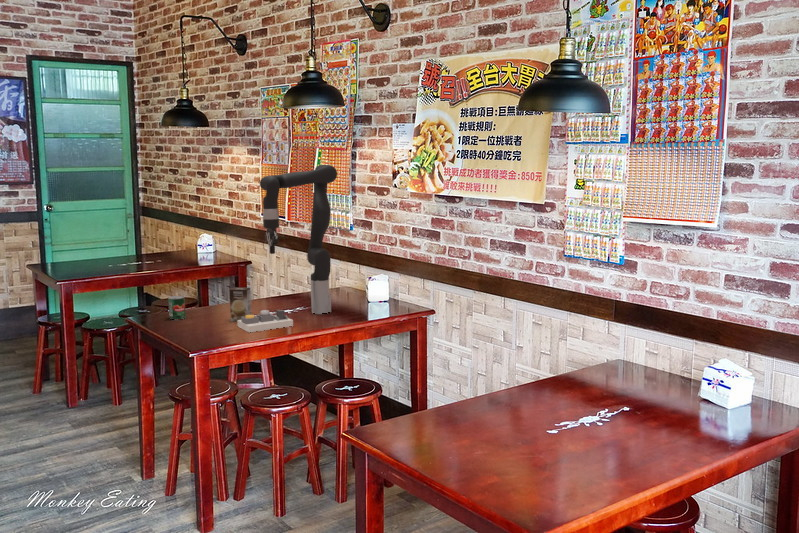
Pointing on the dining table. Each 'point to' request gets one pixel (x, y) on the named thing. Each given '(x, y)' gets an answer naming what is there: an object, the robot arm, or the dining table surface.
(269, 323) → the control panel
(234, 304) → the coffee box
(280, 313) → the dark grey cube
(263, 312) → the grey switch
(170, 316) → the canned tomato
